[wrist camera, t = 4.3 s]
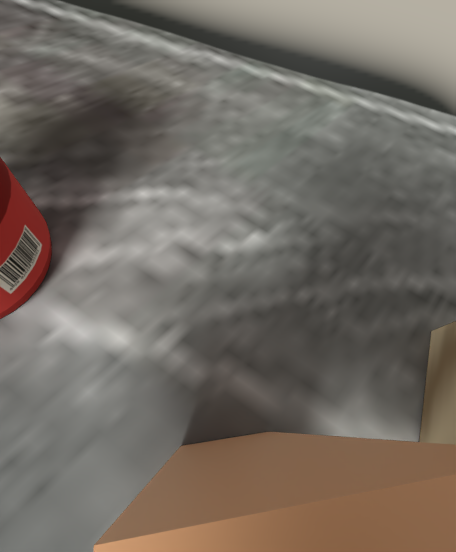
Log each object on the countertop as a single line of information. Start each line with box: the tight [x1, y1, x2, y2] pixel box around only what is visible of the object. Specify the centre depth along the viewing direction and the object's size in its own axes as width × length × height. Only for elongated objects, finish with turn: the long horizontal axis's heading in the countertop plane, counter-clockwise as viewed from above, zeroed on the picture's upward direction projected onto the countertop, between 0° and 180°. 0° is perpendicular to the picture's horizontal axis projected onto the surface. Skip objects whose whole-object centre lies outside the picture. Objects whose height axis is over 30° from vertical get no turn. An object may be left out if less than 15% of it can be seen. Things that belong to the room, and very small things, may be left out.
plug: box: [94, 432, 456, 552], centre depth 8 cm, size 4×4×13 cm
